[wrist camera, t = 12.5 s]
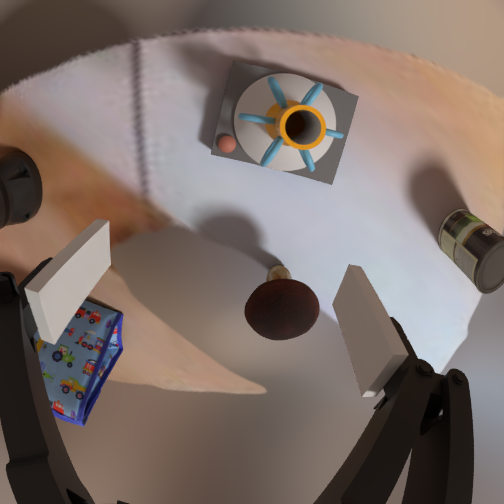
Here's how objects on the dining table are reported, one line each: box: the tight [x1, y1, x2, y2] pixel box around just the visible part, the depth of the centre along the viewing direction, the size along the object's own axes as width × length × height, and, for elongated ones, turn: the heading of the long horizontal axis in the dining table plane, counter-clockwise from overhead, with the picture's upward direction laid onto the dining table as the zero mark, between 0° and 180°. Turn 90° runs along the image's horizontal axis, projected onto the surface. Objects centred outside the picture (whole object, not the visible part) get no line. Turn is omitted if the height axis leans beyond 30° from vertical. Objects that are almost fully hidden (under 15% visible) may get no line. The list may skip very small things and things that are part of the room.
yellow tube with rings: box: [238, 76, 344, 172], centre depth 29 cm, size 12×10×15 cm
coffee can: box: [438, 209, 504, 294], centre depth 40 cm, size 10×10×14 cm
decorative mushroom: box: [245, 265, 319, 340], centre depth 44 cm, size 11×11×15 cm
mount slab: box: [211, 61, 359, 185], centre depth 37 cm, size 18×14×4 cm
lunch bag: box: [34, 300, 123, 426], centre depth 46 cm, size 22×14×29 cm, turn 73°
